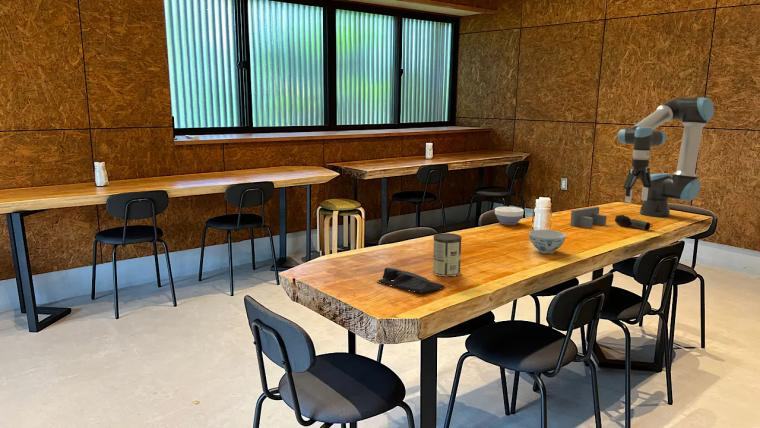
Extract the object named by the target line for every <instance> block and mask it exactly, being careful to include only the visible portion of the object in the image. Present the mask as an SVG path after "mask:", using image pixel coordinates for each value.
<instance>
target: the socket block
mask: <svg viewBox="0 0 760 428" xmlns="http://www.w3.org/2000/svg"><path fill="white" fill-rule="evenodd" d="M570 214H571V215H570V226H571V227H583V228H587V229H592V228H593V224H594V225H599V226H606V224H607V215H605V214H601V213H600V206H591V207H583V208H578V209H572V210H571V213H570Z"/></svg>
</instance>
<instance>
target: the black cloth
mask: <svg viewBox="0 0 760 428" xmlns="http://www.w3.org/2000/svg"><path fill="white" fill-rule="evenodd" d="M382 278H383V279H382ZM382 278H381V279H379V280H377V282H378V281H379V282H382V283H381V284H383V283H385V284H384V285H386V284H388V285H392V286H395V287H399V288H398V289H400V288H402V289H401V290H403V289H406V290H405V291H408V290H410V291H409V292H411V291H415V292H419V293H418V294H425V293H429V292H433V291H432V290H435V291H439V290H438V289H440V288H443V287H444V286H445V284H441V283H438V282H435V281H431V280H430V279H428V278H426V277H424V276H421V275H419V274H417V273H413V272H410V271H405V270H401V269H399V268H392V267H385V268H384V271H383V274H382ZM391 280H394V281H391ZM379 282H378V283H379ZM388 285H387V286H388ZM392 286H391V287H392ZM395 287H394V288H395ZM444 288H445V287H444ZM444 288H443V289H444ZM440 290H441V289H440ZM415 292H414V293H415Z"/></svg>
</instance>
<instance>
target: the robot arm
mask: <svg viewBox="0 0 760 428" xmlns="http://www.w3.org/2000/svg"><path fill="white" fill-rule="evenodd" d="M714 106H715V105H714V104H713V101H712V100H711V99H710V98H708V97H700V96H699V97H677V98H673V99H670V100H668V101H666V102H664V103H662V104H660V105H659V106H658V107H656V109H655V111H654V112H651V114H649V115H648V116H646V117H644V118H643V119H641V120H640V121H638V122H637V123H636V124H634V125H633V126H631V127H630V128H622V129H620V130H619V131H618V133H617V140H618V143H620V144H625V145H633V149H632V150H633V151H632V160H631V167H633V169H632V168H629V170H628V174H627V177H626V179H625V181H624V184H623V189H625V196H624V203H628V204H631V203H632V195H633V187H634V185H635V183H636V182H637V180H638V179H639V180H641V183H642V188H641V198H640V200H641V201H643V203H642V204H641V206H640V209H639V213H640V214H641V215H643V216H649V217H654V218H655V217H657V218H665V217H667V218H668V217H670V215H671V210H670V207H669V206H670V205H669V201H668V200H669V199H674V200H680V201H687V202H688V201H693V200H694V199H696V197H697V196H698V194H699V193H700V191H701V186H702V185H701V181H700V180H699V179H698V175H697V174H696V166H697V161H698V156H699V150H700V145H701V140H702V139H701V138H702V133H703V128H705V127H706V125H707V124H708V122H709V121H711V120H712V119H713V117H714V112H715V107H714ZM672 120H673V121H674V120H680V121H681V124H682V125H683V126H684V127H683V133H682V138H681V143H680V149H679V154H678V159H677V160H678V162H677V166H676V170H675V171H674V172H673V173H672V174H671V173H668V172H667V173H664V172H663V173H661V172H660V173H651V172H650V169H651V168H650V167H649V165H650V160H649V159H650V154H651V147H659V146H662V145H664V144H665V143H666V141H667V134H666V133H665V131H663V130H659V129H658V130H655V129H657V128H659V127H660V126H661V125H662V124H664V123H668V122H670V121H672Z"/></svg>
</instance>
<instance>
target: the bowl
mask: <svg viewBox="0 0 760 428" xmlns="http://www.w3.org/2000/svg"><path fill="white" fill-rule="evenodd" d="M524 212H525V211H524V209H523V208H521V207H516V206H499V207H495V209H494V214H495V217H496V219H497V220H498V221H499V224H501V225H503V226H515V225H518V223H519V222H520V221H521V219H522V218H523V215H524Z"/></svg>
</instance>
